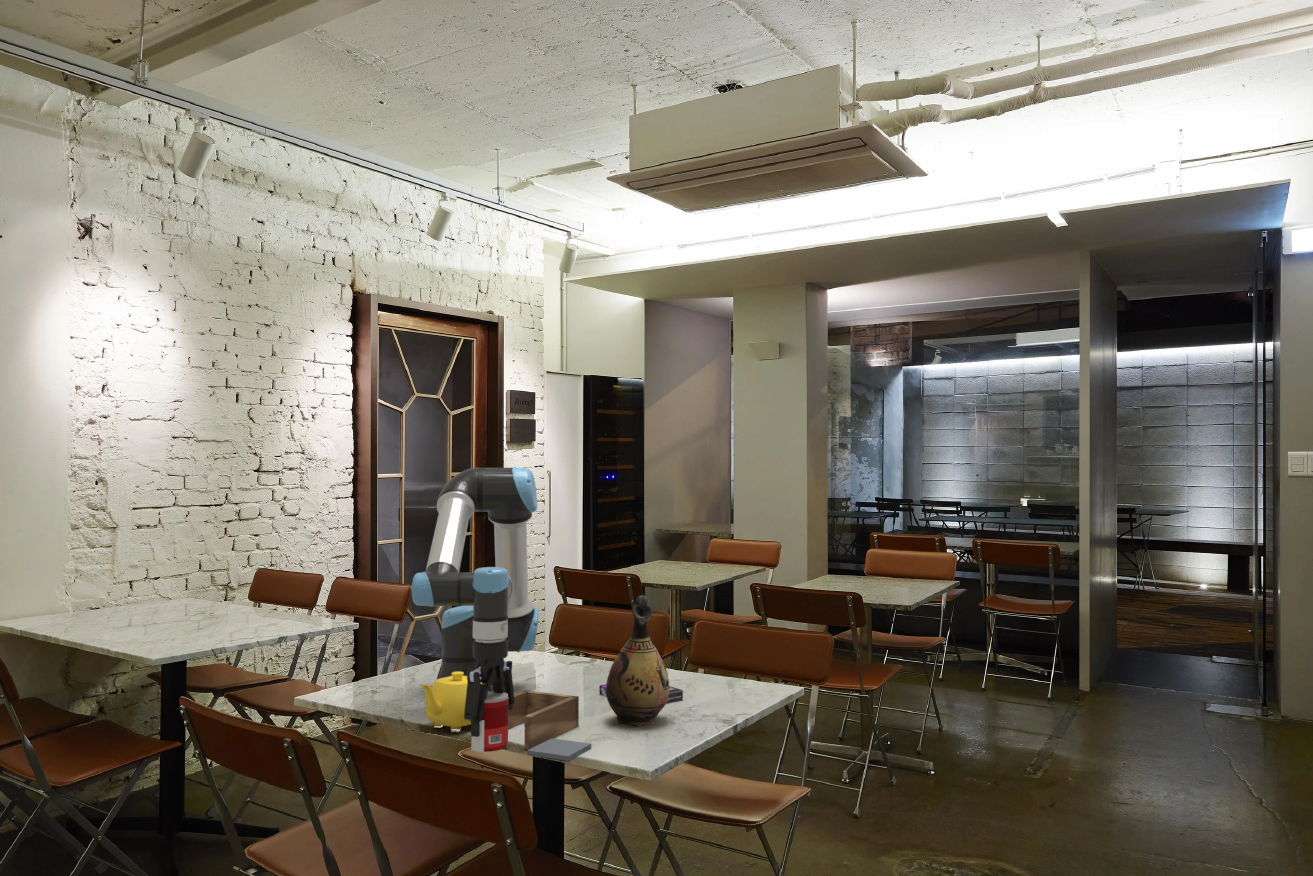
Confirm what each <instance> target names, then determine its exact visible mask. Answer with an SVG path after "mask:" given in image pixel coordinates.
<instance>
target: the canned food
mask: <svg viewBox="0 0 1313 876" xmlns="http://www.w3.org/2000/svg"><path fill="white" fill-rule="evenodd" d="M481 720H484V752H483V753H485V752H486V753H487V752H488V753H489V752H496V751H497V752H498V751H500V750H503V749H505V748H506V747H507V746H508V742H509V729H508V694H507V693H505V692H504V693H495V692H494V691H492V690H491V691H490V690H489V691H488V694H487V698H486V700H485V703H484V711H483V715H482V719H481ZM470 739H471V741H472V736H471V738H470Z"/></svg>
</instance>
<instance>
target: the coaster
mask: <svg viewBox="0 0 1313 876" xmlns="http://www.w3.org/2000/svg"><path fill="white" fill-rule="evenodd" d="M591 749H592V743H591V742H590V743H589V742H581V741H575V740H574V741H573V740H567V739H561V738H560V739H559V738H552V739H549V740H547V741H545V742H543V743H541V744H539V745H537V746H535V747H533V748H531V749H526V751H527V753H526V754H527V755H526V756H530V757H531V756H532V757H537V758H545V759H552V760H558V761H564V762H569V761H571V760H573V759H574V758H577V757H578V756H580V755H582V754H584V753H585V752H587V751H589V750H591Z"/></svg>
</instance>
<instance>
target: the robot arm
mask: <svg viewBox="0 0 1313 876" xmlns="http://www.w3.org/2000/svg"><path fill="white" fill-rule="evenodd" d="M537 494H538V493H537V486H536V481H535V476H534V473H533V471H532V470H531V469H530V468H526V467H525V468H523V467H515V466H514V467H513V466H512V467H471V468H467V469H465V470H463V471H460V472H459V473H457V474H456V475H454V476H453V477H451V479H449V481H448V482H447V483H446V484H445V485H444V486H443V488H442V489H441V491H440V493H439V495H438V498H437V500H436V501H437V502H436V511H437V513H438V515H437V520H436V525H435V529H434V534H433V538H432V542H431V546H430V550H429V555H428V560H427V564H426V568H425V569H426V570H425V571H423V572H416V573H415V575H414V576H413V578H412V583H411V597H412V601H413V602H412V603H414V605H416V606H419V607H420V606H423V607H431V608H434V607H451V608H449V609H446V610H445V611H444V612H443V613H442V620H441V621H442V622H441V627H440V628H441V664H440V667H439V671H438V673H437V677H436V680H437V679H440V678H445V677H449V676H452V674H451V673H453V672H464V675H463V676H467V682H468V683H467V693H466V702H465V711H464V719H467V720H470V721H471V726H470V735H471V737H472V741H471V746H470V747H471V752H477V753H485V752H484V720H481V719H482V715H483V711H484V703H485V700H486V698H487V694H488V691H490V690H491V688H492V690H493V691H494V692H495V693H504V692H505V693H507V694H508V697H509V699H508V710H512V708H513V704H514V692H515V691H514V682H513V681H514V680H513V672H512V671H513V661H512V660H506V658H507V657H508V656H509V653H510V652H516V653H520V652H531V651H533V649H534V648H535V647H536V646H535V645H536V640H537V639H536V638H537V633H538V624H539V615H540V610H539V609H538V608H536V607H534V603H533V601H532V600H531V599H530V598H529V587H528V585H529V584H528V582H529V581H528V579H529V578H528V543H527V542H528V540H527V539H528V537H527V535H528V534H527V530H528V529H527V522H529V521H530V520H531V519H532V517H533V513H534V512H537V510H538V498H537V497H538V496H537ZM475 512H476V513H477V512H479V513H480V512H481V513H483V512H485V513H486V512H487V518H488V520H489V521H490V522H491V523H492V524H493V527H494V530H493V531H494V534H493V535H494V557H495V558H494V559H495V566H486V567H478V568H476V569H475V570H474V572H469V571H467V572H460V569H461V564H462V559H463V553H464V547H465V543H466V536H467V530H468V526H469V520H470V519H471V517H472V516H473V515H474V513H475ZM452 606H453V607H452ZM481 682H482V684H481ZM469 713H470V714H469Z"/></svg>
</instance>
